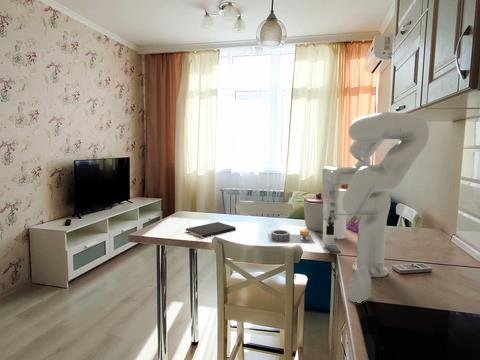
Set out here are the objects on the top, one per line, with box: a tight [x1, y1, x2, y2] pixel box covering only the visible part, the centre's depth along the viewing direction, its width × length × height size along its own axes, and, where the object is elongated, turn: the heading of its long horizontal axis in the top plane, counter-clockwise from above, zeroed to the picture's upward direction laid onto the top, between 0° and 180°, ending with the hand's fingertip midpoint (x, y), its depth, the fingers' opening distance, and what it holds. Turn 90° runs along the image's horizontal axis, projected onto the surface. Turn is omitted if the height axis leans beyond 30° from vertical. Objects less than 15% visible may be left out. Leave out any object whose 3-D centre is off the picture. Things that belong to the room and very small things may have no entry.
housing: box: [267, 229, 316, 244], centre depth 152 cm, size 14×22×4 cm, turn 87°
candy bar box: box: [346, 214, 362, 234], centre depth 171 cm, size 11×5×16 cm, turn 22°
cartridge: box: [322, 217, 335, 245], centre depth 139 cm, size 5×5×12 cm
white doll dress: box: [347, 265, 372, 304], centre depth 94 cm, size 4×7×10 cm, turn 130°
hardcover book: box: [185, 221, 237, 238], centre depth 169 cm, size 16×23×2 cm
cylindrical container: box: [334, 188, 347, 240], centre depth 158 cm, size 7×7×25 cm
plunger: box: [299, 229, 310, 240], centre depth 152 cm, size 4×4×4 cm
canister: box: [302, 192, 324, 232], centre depth 172 cm, size 18×18×21 cm
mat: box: [324, 244, 342, 254], centre depth 140 cm, size 9×9×1 cm
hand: (328, 232), depth 139 cm, fingers closed on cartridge, 5 cm apart
